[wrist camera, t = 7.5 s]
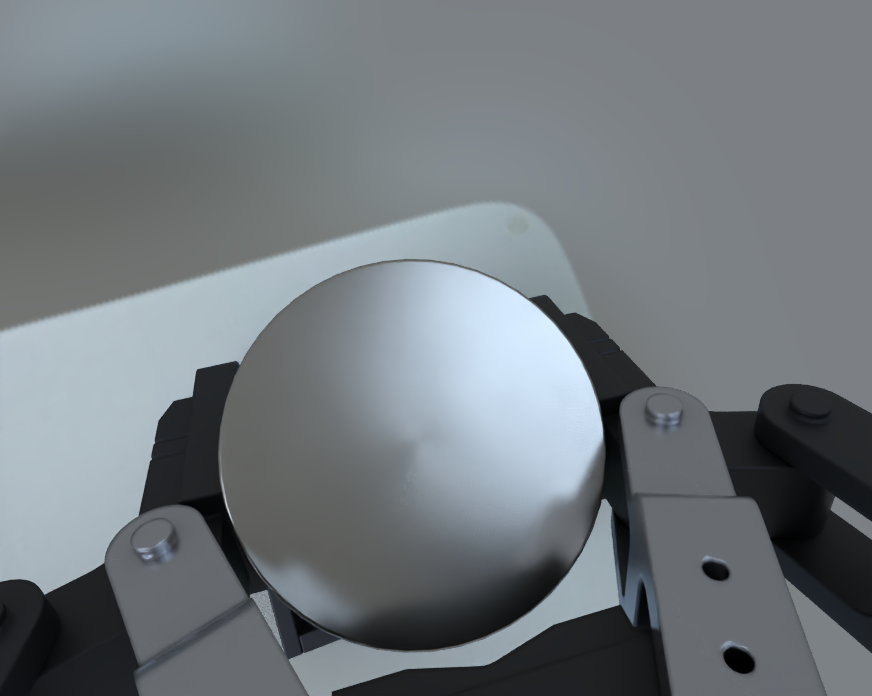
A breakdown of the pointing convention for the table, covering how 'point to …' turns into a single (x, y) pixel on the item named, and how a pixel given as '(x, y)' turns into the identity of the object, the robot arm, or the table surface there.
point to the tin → (412, 455)
